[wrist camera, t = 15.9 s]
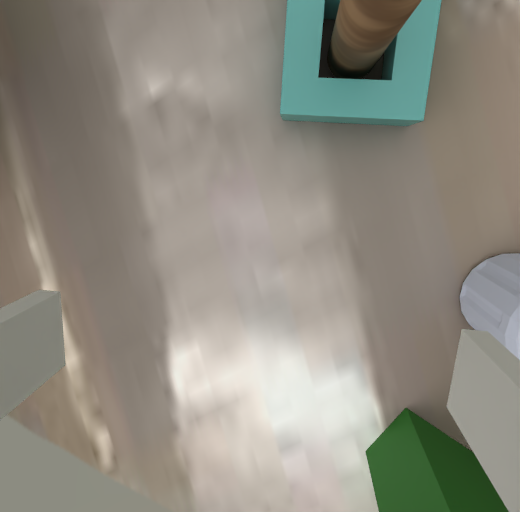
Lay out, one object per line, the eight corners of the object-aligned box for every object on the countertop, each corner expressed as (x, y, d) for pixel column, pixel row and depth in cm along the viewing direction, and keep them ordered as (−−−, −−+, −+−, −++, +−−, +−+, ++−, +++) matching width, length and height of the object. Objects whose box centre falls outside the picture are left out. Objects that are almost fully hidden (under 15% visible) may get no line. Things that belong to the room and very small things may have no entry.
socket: (282, 120, 38) (280, 113, 33) (292, -19, 35) (290, -47, 30) (407, 126, 37) (423, 120, 32) (427, -16, 34) (448, -46, 29)
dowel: (325, 81, 37) (350, -10, 18) (329, 30, 36) (362, -126, 16) (372, 83, 37) (451, -8, 17) (378, 31, 35) (469, -127, 16)
